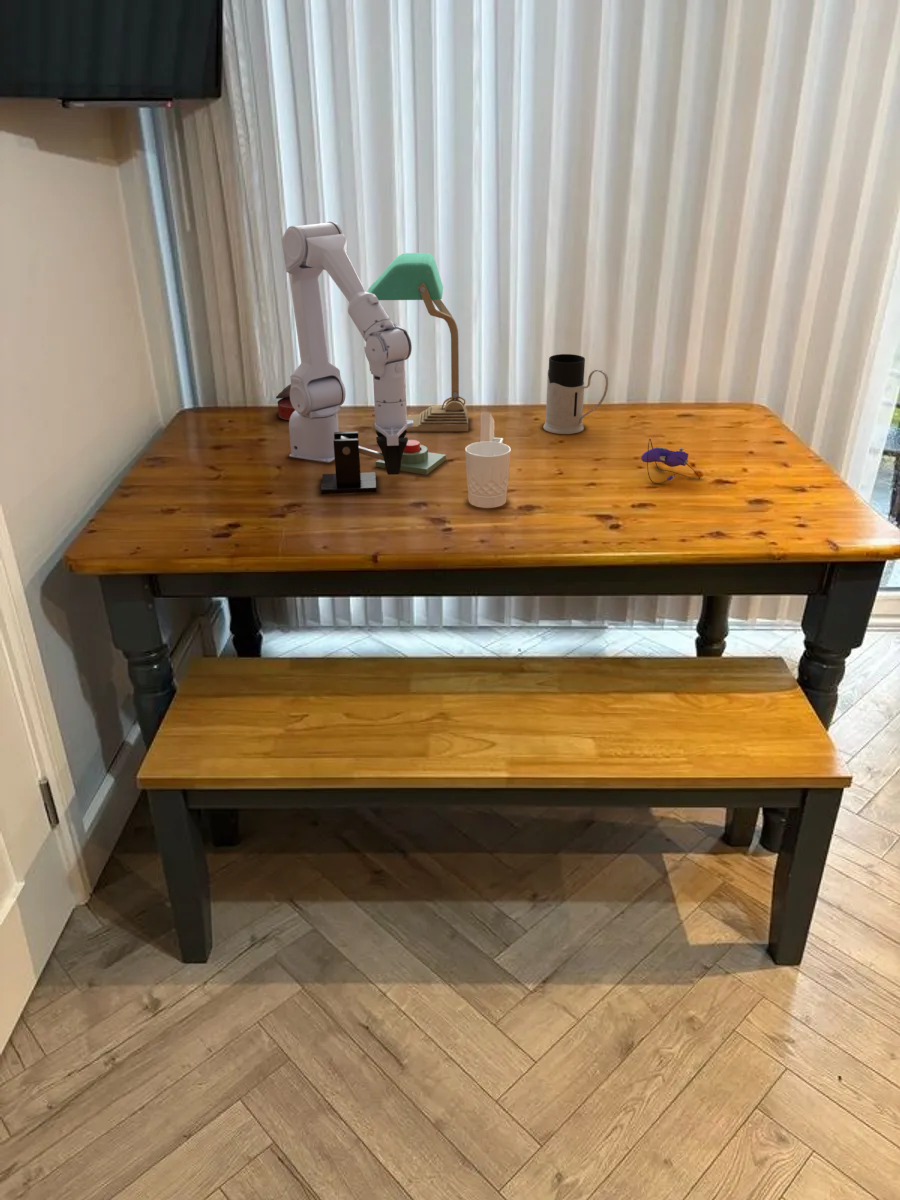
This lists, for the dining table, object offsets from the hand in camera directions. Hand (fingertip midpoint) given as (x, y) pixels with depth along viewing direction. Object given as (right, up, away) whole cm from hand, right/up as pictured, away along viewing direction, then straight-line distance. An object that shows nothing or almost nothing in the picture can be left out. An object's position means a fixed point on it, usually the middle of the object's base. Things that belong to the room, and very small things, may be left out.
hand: (393, 470), depth 175 cm
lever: (-5, +2, -1) cm, 5 cm away
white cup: (+17, -7, -6) cm, 19 cm away
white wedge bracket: (+19, +4, +14) cm, 24 cm away
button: (+3, +5, +9) cm, 11 cm away
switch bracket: (-8, -3, +1) cm, 9 cm away
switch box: (+3, +3, +11) cm, 12 cm away
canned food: (-24, +18, +41) cm, 50 cm away
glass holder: (+37, +13, +29) cm, 49 cm away
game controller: (+52, -1, +4) cm, 52 cm away
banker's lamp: (+4, +14, +33) cm, 36 cm away
